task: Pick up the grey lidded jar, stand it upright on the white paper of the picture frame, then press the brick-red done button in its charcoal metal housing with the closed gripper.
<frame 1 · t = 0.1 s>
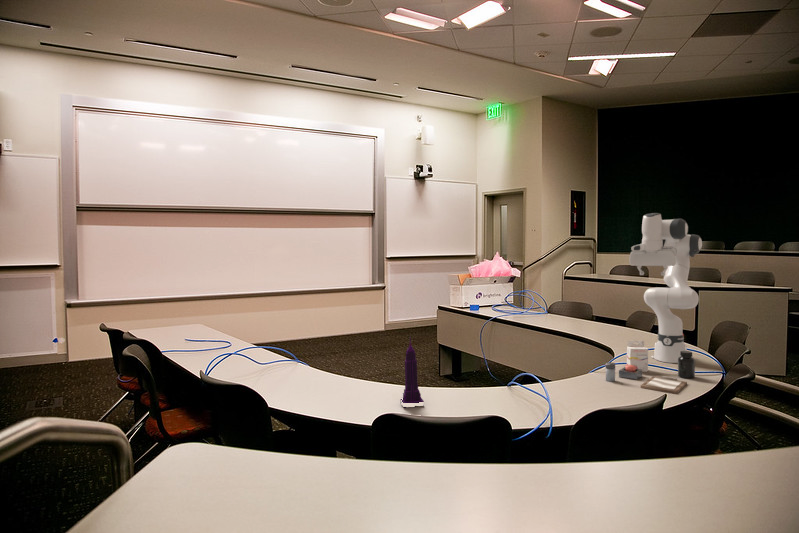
hand: (652, 275, 229), 48 cm above the table, fingers open, 8 cm apart
building model: (412, 405, 196), on the table
picture frame: (663, 385, 211), on the table
grey lidded jar: (610, 380, 221), on the table
supplement bottle: (686, 377, 223), on the table
button housing: (630, 376, 226), on the table
done button: (630, 368, 226), point 4 cm above the table, slide at 0.0 cm
ink cartridge box: (637, 370, 236), on the table
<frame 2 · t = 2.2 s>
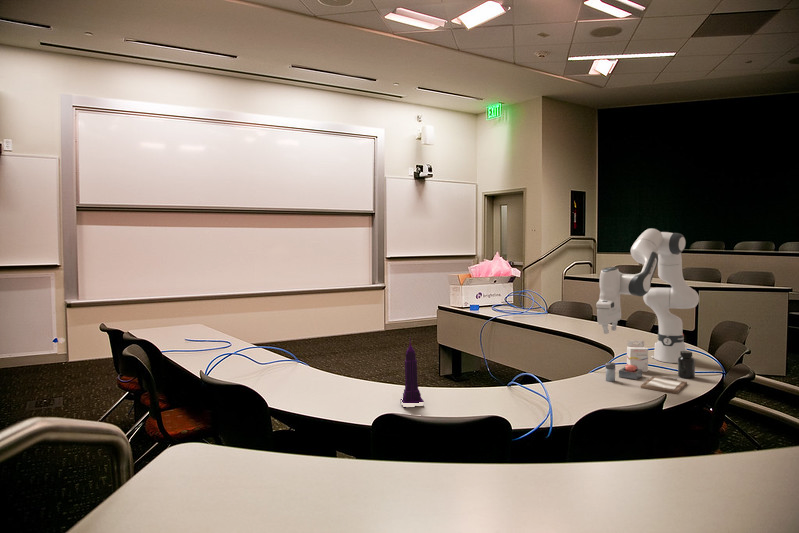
hand: (610, 331, 220), 23 cm above the table, fingers open, 8 cm apart
nothing on the table moved.
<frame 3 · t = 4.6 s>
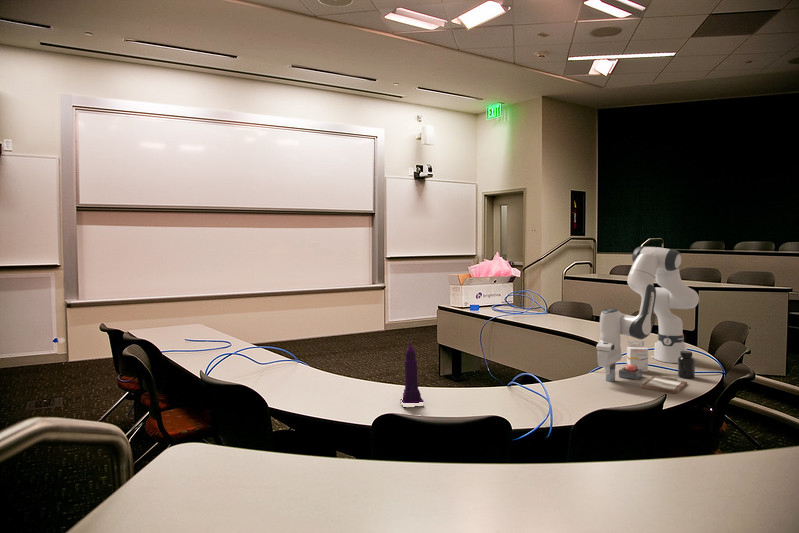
hand: (610, 372, 221), 4 cm above the table, fingers closed on grey lidded jar, 4 cm apart
grey lidded jar: (610, 380, 221), on the table, touching gripper
everything else where it was.
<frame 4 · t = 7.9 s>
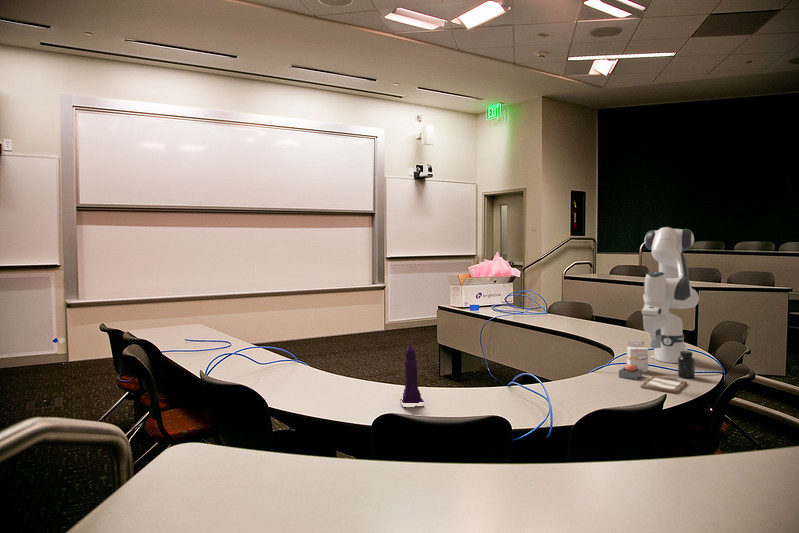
hand: (655, 339, 211), 21 cm above the table, fingers closed on grey lidded jar, 4 cm apart
grey lidded jar: (655, 347, 211), point 17 cm above the table, touching gripper
everything else where it was.
when the fingers open (6 cm above the table, at t = 11.5 s): grey lidded jar drops 1 cm, resting on picture frame.
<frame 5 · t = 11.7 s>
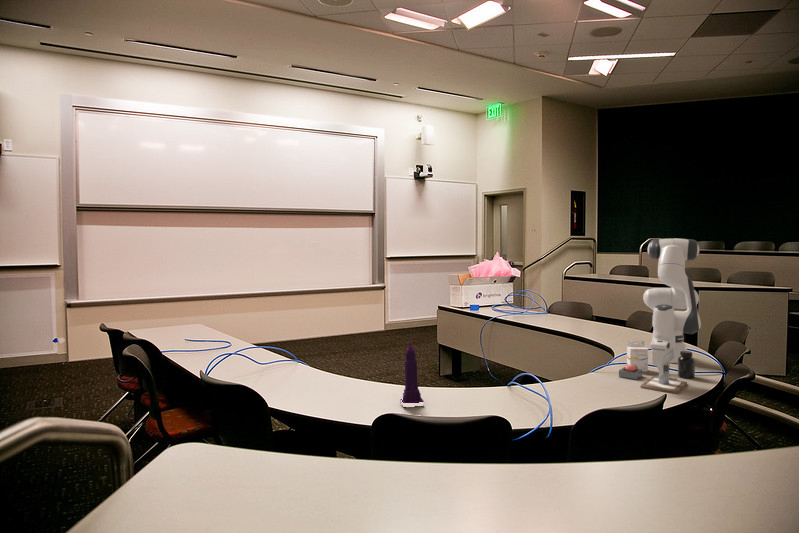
hand: (663, 372, 210), 6 cm above the table, fingers open, 6 cm apart
grey lidded jar: (663, 383, 210), point 1 cm above the table, touching picture frame
everything else where it was.
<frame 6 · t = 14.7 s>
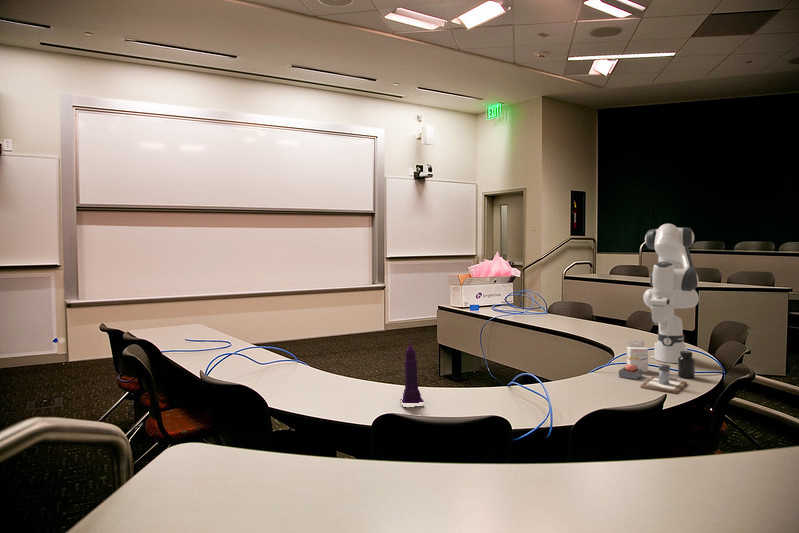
hand: (663, 330, 209), 25 cm above the table, fingers closed
nothing on the table moved.
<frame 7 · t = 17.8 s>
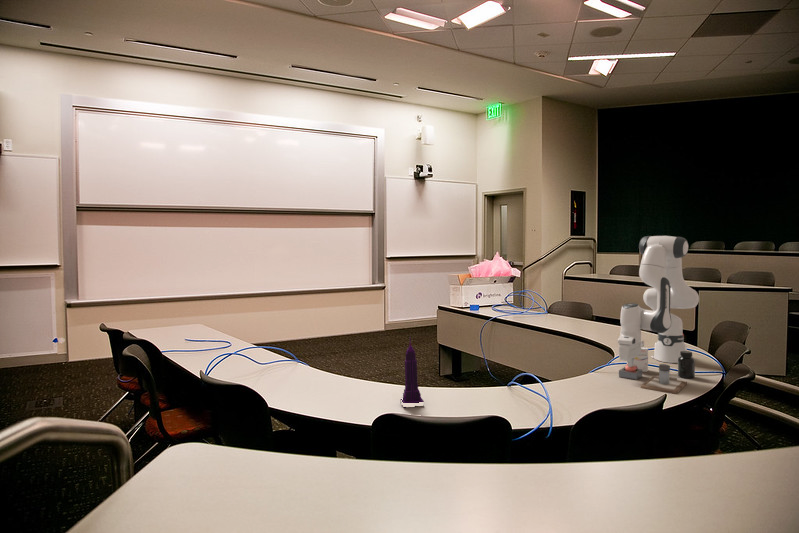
hand: (630, 366, 225), 5 cm above the table, fingers closed
done button: (630, 369, 226), point 3 cm above the table, slide at 0.2 cm, touching gripper
everything else where it was.
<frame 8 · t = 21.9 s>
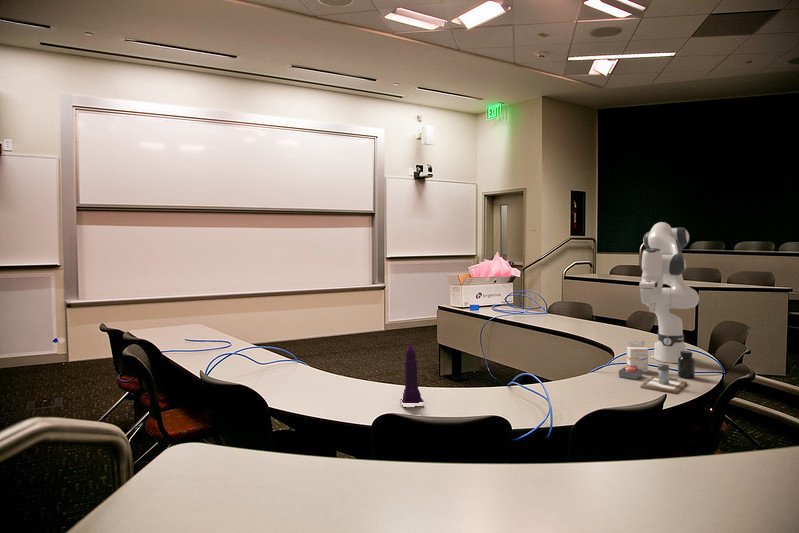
hand: (652, 311, 223), 31 cm above the table, fingers closed
done button: (630, 371, 226), point 3 cm above the table, slide at 1.1 cm
everything else where it was.
at the end: grey lidded jar inside the target area on the picture frame (0.0 cm from its centre), point 1.3 cm above the picture frame's base; grey lidded jar tilted 2°; done button slide at 1.1 cm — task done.
